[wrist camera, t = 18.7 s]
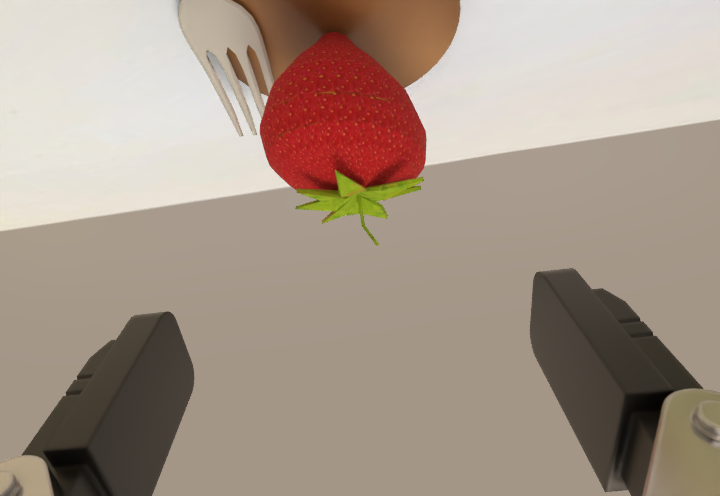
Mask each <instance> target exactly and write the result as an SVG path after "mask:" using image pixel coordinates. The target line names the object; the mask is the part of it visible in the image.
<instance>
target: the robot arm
mask: <svg viewBox="0 0 720 496" xmlns="http://www.w3.org/2000/svg"><path fill="white" fill-rule="evenodd" d="M530 338H531V344H532V348H533V351H534V354H535V357H536V359H537V361H538V363H539V365H540V367H541V368H542V371H543V373H544V374H545V376H546V378H547V380H548V382H549V384H550V386H551V388H552V390H553V392H554V394H555V396H556V397H557V400H558V402H559V404H560V405H561V407H562V409H563V411H564V413H565V415H566V417H567V419H568V421H569V423H570V425H571V427H572V429H573V430H574V433H575V434H576V436H577V438H578V440H579V442H580V444H581V446H582V448H583V450H584V452H585V454H586V456H587V458H588V460H589V462H590V463H591V465H592V467H593V469H594V471H595V473H596V475H597V477H598V479H599V481H600V483H601V485H602V487H603V489H604V491H605V492H611V491H622V490H629V492H630V494H631V496H720V393H719V392H716V391H711V390H706V389H703V388H702V387H701V385H700V384H699V383H698V382H697V381H696V380H695V379H694V378H693V376H692V375H691V374H690V373H689V372H688V371H687V370H686V369H685V368H684V366H683V365H682V364H681V363H680V362H679V361H678V360H677V359H676V358H675V356H674V355H673V354H672V353H671V352H670V351H669V350H668V349H667V348H666V347H665V346H664V344H663V343H662V342H661V341H660V340H659V339H658V338H657V336H653V332H652V331H651V330H650V329H649V328H648V326H647V325H646V324H645V323H644V322H641V321H640V318H639V316H638V315H637V314H636V313H635V312H634V311H633V310H632V309H631V308H630V307H629V305H628V304H627V303H626V302H625V301H623V300H622V299H620V298H618V297H616V296H615V295H613V294H611V293H609V292H608V291H606V290H604V289H591V288H590V286H589V285H588V284H587V283H586V282H585V280H584V279H583V278H582V277H581V276H580V274H579V273H578V272H577V271H576V270H575V269H573V268H570V269H561V270H551V271H543V272H537V273H536V274H535V276H534V280H533V293H532V308H531V321H530ZM193 386H194V369H193V364H192V361H191V359H190V356H189V353H188V351H187V348H186V345H185V343H184V340H183V337H182V334H181V332H180V329H179V326H178V324H177V321H176V319H175V317H174V315H173V314H172V313H171V312H159V313H150V314H142V315H135V316H133V317H131V319H130V320H129V321H128V323H127V324H126V326H125V328H124V329H123V330H122V332H121V334H120V335H119V336H118V338H117V339H116V340H111V341H110V342H108V343H107V344H106V345H105V346H104V347H102V348H101V349H100V350H99V351H98V352H97V353H95V354H94V355H93V356H92V357H91V358H90V359H89V360H88V362H87V363H86V364H85V366H84V367H83V369H82V370H81V372H80V373H79V374H78V376H77V380H74V381H73V383H72V384H71V386H70V387H69V389H68V390H67V392H66V396H63V397H62V399H61V400H60V401H59V403H58V404H57V406H56V407H55V408H54V410H53V411H52V413H51V414H50V416H49V417H48V419H47V420H46V421H45V423H44V424H43V426H42V427H41V428H40V430H39V431H38V433H37V434H36V435H35V437H34V438H33V440H32V441H31V443H30V444H29V446H28V447H27V448H26V450H25V451H24V453H23V454H22V456H18V457H13V458H10V459H7V460H5V461H2V462H0V496H152V494H153V492H154V489H155V487H156V484H157V481H158V479H159V476H160V474H161V471H162V468H163V465H164V463H165V461H166V458H167V456H168V453H169V450H170V448H171V445H172V443H173V440H174V438H175V435H176V432H177V430H178V427H179V425H180V422H181V420H182V417H183V414H184V412H185V409H186V407H187V404H188V401H189V399H190V396H191V394H192V391H193Z"/></svg>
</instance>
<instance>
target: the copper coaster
mask: <svg viewBox="0 0 720 496" xmlns="http://www.w3.org/2000/svg"><path fill="white" fill-rule="evenodd" d="M232 1H234V2H236V3H237V4H239V5H241V6H242V7H243V8H244V9H245V10H246V11H247V12H248V13H249V14H250V15H252V17H253V18H254V20H255V22H256V24H257V26H258V27H259V30H260V33H261V36H262V38H263V42H264V45H265V49H266V53H267V56H268V60H269V64H270V68H271V72H272V76H273V80H274V82H275V81H276V80H277V79H278V77H279V76H280V75H281V74H282V73H283V72H284V71H285V70H286V69H287V68H288V67H289V65H290V64H291V63H292V62H293V61H294V60H295V59H296V58H297V57H298V56H299V54H300V53H302V52H303V51H305V50H306V49H308V48H309V47H311V46H312V45H314V44H315V43H316V42H317V41H318V40H319V38H320V37H322V36H323V35H324V34H326V33H329V32H338V33H341V34H343V35H345V36H346V37H348V38H349V39H350V40H351V41H352V42H353V43H354V44H355V45H356V46H357V47H358V48H360V49H361V50H363V51H364V52H366V53H367V54H368V55H370V56H371V57H372V58H374V59H375V60H376V61H377V62H378V63H379V64H380V65H381V66H382V67H383V68H384V69H385V70H386V71H387V72H388V73H389V74H390V75H391V76H392V77H394V78H395V79H396V80H397V81H398V82H399V83H400V85H401V86H402V87H403V88H405V87H407V86H409V85H410V84H412V83H413V82H415V81H417V80H418V79H419V78H421V77H422V76H423V75H425V74H426V73H427V72H428V71H429V70H430V69H431V68H432V67H433V66H434V65H435V64H437V62H438V61H439V60H440V59H441V57H442V56H443V55H444V54H445V52H446V51H447V49H448V47H449V46H450V44H451V42H452V40H453V38H454V35H455V33H456V30H457V26H458V23H459V17H460V0H232ZM247 54H248V57H249V60H250V63H251V66H252V69H253V72H254V75H255V78H256V81H257V85H258V88H259V91H260V93H262V94H264V95H267V96H269V93H268V89H267V86H266V82H265V79H264V76H263V72H262V69H261V66H260V63H259V60H258V57H257V55H256V52H255V51H254V50H253V49H252V48H251V47H250V46H249V45H248V47H247ZM227 55H228V58H229V60H230V62H231V65H232V67H233V69H234V72H235V74H236V77H237V78H238V79H239V80H240V81H242V82H243V83H245V84H246V85H247V86H249V84H248V82H247V79H246V76H245V74H244V71H243V69H242V66H241V64H240V62H239V60H238V58H237V56H236V54H235V53H234V52H233V51H232V50H230V49H229V48H228V47H227Z"/></svg>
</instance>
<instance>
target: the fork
mask: <svg viewBox="0 0 720 496" xmlns="http://www.w3.org/2000/svg"><path fill="white" fill-rule="evenodd" d="M178 18H179V25H180V28H181V30H182V32H183V34H184V37H185V38H186V40H187V42H188V44H189V45H190V47H191V49H192V50H193V52H194V53H195V55H196V57H197V58H198V60H199V62H200V63H201V65H202V66H203V68H204V70H205V71H206V73H207V75H208V77H209V78H210V80H211V82H212V84H213V86H214V88H215V90H216V92H217V94H218V96H219V97H220V99H221V101H222V103H223V105H224V107H225V109H226V111H227V113H228V115H229V117H230V119H231V120H232V122H233V124H234V126H235V128H236V130H237V132H238V134H239V136H243V133H242V131H241V128H240V125H239V122H238V119H237V117H236V114H235V111H234V109H233V107H232V105H231V103H230V101H229V99H228V97H227V94H226V92H225V90H224V88H223V86H222V84H221V82H220V80H219V78H218V76H217V74H216V72H215V70H214V68H213V66H212V64H211V62H210V60H209V58H208V56H207V50H208V51H209V52H211V53H212V54H213V55H215V56H216V58H217V59H218V61H219V63H220V64H221V66H222V68H223V70H224V71H225V73H226V76H227V78H228V80H229V82H230V84H231V87H232V89H233V91H234V93H235V96H236V98H237V100H238V102H239V105H240V107H241V109H242V111H243V113H244V116H245V118H246V120H247V122H248V124H249V126H250V129H251V131H252V133H253V135H257V133H256V129H255V126H254V123H253V119H252V116H251V113H250V110H249V107H248V105H247V102H246V100H245V97H244V94H243V92H242V89H241V87H240V84H239V82H238V79H237V77H236V74H235V72H234V69H233V67H232V65H231V62H230V60H229V58H228V55H227V47H228V48H229V49H230V50H232V51H233V52H234V53H235V54H236V56H237V58H238V60H239V62H240V64H241V66H242V69H243V71H244V74H245V76H246V79H247V82H248V84H249V87H250V90H251V92H252V95H253V98H254V100H255V103H256V106H257V108H258V111H259V113H260V116H261V118H262V117H263V113H264V110H265V106H264V103H263V100H262V97H261V94H260V91H259V88H258V85H257V81H256V78H255V75H254V72H253V69H252V66H251V63H250V60H249V57H248V54H247V47H248V45H249V46H250V47H251V48H252V49H253V50H254V51H255V52H256V55H257V57H258V60H259V63H260V66H261V69H262V72H263V76H264V79H265V82H266V86H267V89H268V93H270V90H271V88H272V86H273V83H274V80H273V76H272V72H271V68H270V64H269V60H268V56H267V53H266V49H265V45H264V42H263V38H262V36H261V33H260V30H259V27H258V26H257V24H256V22H255V20H254V18H253V17H252V15H250V14H249V13H248V12H247V11H246V10H245V9H244V8H243V7H242V6H241V5H239V4H237V3H236V2H234V1H232V0H181V2H180V6H179V12H178Z"/></svg>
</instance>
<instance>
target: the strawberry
mask: <svg viewBox="0 0 720 496" xmlns="http://www.w3.org/2000/svg"><path fill="white" fill-rule="evenodd" d="M260 135H261V139H262V143H263V146H264V150H265V153H266V157H267V160H268V162H269V165H270V166H271V167H272V169H273V170H274V171H275V172H276V173H277V174H278V175H279V176H280V177H281V178H282V179H283V180H284V181H285V182H287V183H288V184H289V185H290V186H291V187H293V188H294V189H296V190H297V193H300V194H303V195H306V196H309V197H311V198H314V199H317V200H316V201H313V202H309V203H306V204H303V205H300V206H297V207H296V209H306V210H321V211H332V212H331V213H330V214H329V215H328V216H327V217H326V218H325V219H323V220H322V223H325V222H328V221H331V220H334V219H336V218H339V217H342V216H344V215H354V214H360V216H361V222H362V227H363V228H364V230H365V231H366V232H367V233H368V235H369V236H370V238H371V239H372V240H373V242H374V243H375V244H376V245H379V244H378V242H377V241H376V240H375V239H374V237H373V236H372V234H371V233H370V232H369V231H368V229H367V228H366V227H365V223H364V216H363V214H366V215H371V216H376V217H381V218H386V219H387V218H388V215H387V213H386V211H385V210H384V207H383V206H382V205H381V204H379V203H378V202H376V201H380V200H386V199H389V198H392V197H396V196H400V195H403V194H407V193H410V192H413V191H417V190H420V189H421V186H414V185H416V184H418V183H420V182H422V181H424V179H423V177H420V178H417V177H418V175H419V174H420V173H421V171H422V170H423V168H424V165H425V159H426V132H425V129H424V127H423V125H422V123H421V121H420V119H419V116H418V114H417V112H416V110H415V108H414V106H413V104H412V102H411V100H410V98H409V96H408V94H407V92H406V90H405V89H404V88H403V87H402V86H401V85H400V83H399V82H398V81H397V80H396V79H395V78H394V77H392V76H391V75H390V74H389V73H388V72H387V71H386V70H385V69H384V68H383V67H382V66H381V65H380V64H379V63H378V62H377V61H376V60H375V59H374V58H372V57H371V56H370V55H368V54H367V53H366V52H364V51H363V50H361V49H360V48H358V47H357V46H356V45H355V44H354V43H353V42H352V41H351V40H350V39H349V38H348V37H346V36H345V35H343V34H341V33H338V32H329V33H326V34H324V35H323V36H322V37H320V38H319V40H318V41H317V42H316V43H315V44H314V45H312V46H311V47H309V48H308V49H306V50H305V51H303V52H302V53H300V54H299V56H298V57H297V58H296V59H295V60H294V61H293V62H292V63H291V64H290V65H289V67H288V68H287V69H286V70H285V71H284V72H283V73H282V74H281V75H280V76H279V77H278V79H277V80H276V81H275V82H274V83H273V86H272V88H271V90H270V93H269V97H268V100H267V103H266V107H265V110H264V113H263V117H262V120H261V123H260Z"/></svg>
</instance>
